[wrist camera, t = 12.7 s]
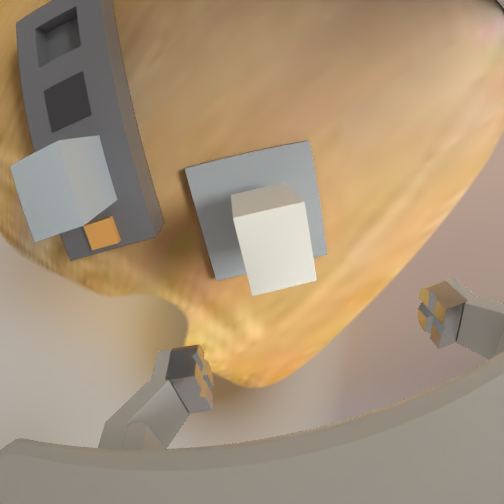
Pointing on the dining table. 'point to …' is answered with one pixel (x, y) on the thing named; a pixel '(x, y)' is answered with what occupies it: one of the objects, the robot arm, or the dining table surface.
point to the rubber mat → (244, 179)
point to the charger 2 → (273, 238)
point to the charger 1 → (63, 186)
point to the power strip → (88, 113)
